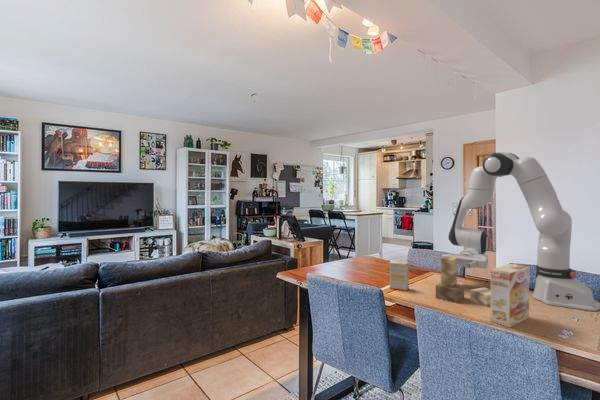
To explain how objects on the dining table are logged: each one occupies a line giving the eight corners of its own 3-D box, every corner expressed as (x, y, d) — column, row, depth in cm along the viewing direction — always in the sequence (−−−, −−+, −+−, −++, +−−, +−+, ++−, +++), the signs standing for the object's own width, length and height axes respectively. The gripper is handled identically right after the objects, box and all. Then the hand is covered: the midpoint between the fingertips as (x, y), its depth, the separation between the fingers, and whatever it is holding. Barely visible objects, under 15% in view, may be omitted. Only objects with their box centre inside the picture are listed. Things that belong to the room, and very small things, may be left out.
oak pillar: (456, 284, 146) (457, 257, 145) (452, 287, 142) (453, 260, 141) (445, 282, 149) (445, 256, 148) (440, 284, 146) (441, 258, 145)
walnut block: (464, 298, 145) (464, 284, 145) (456, 303, 139) (456, 289, 139) (443, 293, 152) (443, 281, 151) (435, 298, 145) (435, 285, 145)
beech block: (500, 304, 137) (500, 292, 137) (485, 307, 134) (486, 295, 134) (484, 298, 144) (484, 287, 144) (470, 300, 142) (470, 289, 142)
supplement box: (409, 288, 160) (409, 261, 159) (406, 291, 156) (406, 263, 155) (392, 286, 164) (392, 260, 164) (389, 288, 160) (389, 262, 159)
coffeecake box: (510, 328, 114) (510, 272, 113) (489, 321, 120) (489, 268, 119) (530, 318, 122) (530, 266, 121) (509, 312, 128) (509, 262, 127)
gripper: (446, 249, 169) (436, 253, 159) (491, 254, 155) (482, 259, 145) (446, 261, 170) (436, 266, 160) (491, 268, 155) (482, 274, 145)
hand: (458, 263), depth 152 cm, fingers open, 8 cm apart
